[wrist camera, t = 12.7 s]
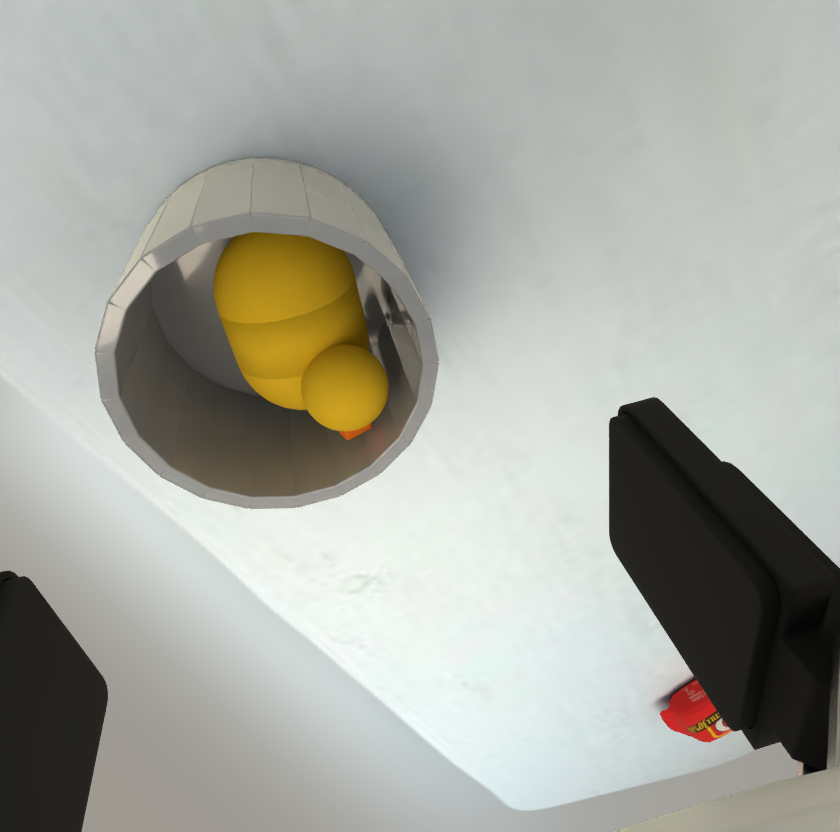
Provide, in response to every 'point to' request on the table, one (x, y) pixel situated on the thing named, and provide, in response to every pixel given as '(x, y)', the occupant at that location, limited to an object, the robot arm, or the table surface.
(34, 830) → the robot arm
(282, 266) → the duck
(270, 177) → the cup
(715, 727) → the candy bar
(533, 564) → the table surface
